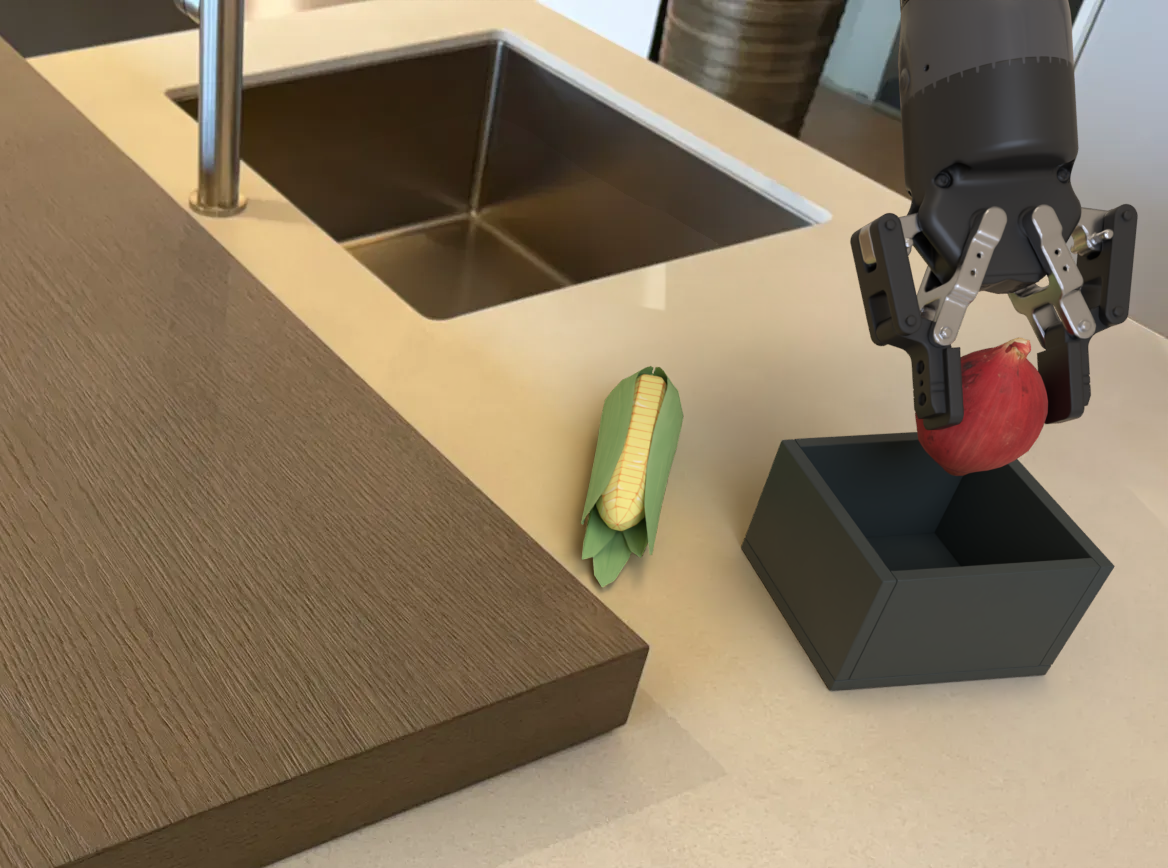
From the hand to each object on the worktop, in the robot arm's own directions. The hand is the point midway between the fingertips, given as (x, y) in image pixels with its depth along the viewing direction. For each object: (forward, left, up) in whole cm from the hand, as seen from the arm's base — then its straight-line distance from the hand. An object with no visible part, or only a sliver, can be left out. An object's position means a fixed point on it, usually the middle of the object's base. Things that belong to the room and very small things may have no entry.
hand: (1003, 422), depth 68 cm
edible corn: (+12, -14, -14) cm, 23 cm away
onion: (0, -2, -4) cm, 5 cm away
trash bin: (0, -2, -14) cm, 14 cm away
